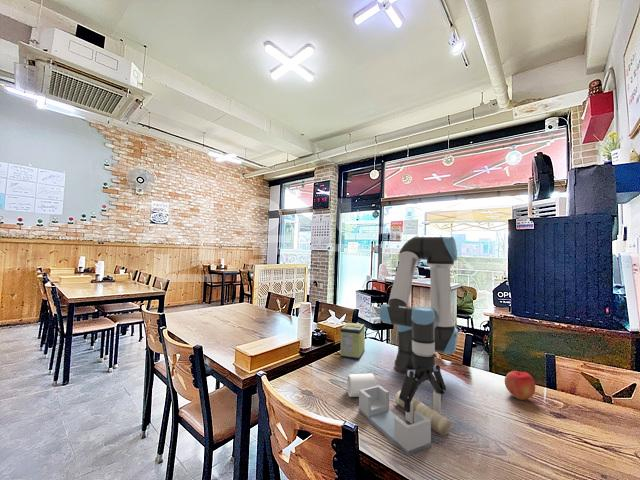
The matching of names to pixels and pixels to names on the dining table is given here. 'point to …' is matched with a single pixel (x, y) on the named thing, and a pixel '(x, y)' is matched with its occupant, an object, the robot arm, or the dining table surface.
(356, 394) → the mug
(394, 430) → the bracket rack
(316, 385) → the dining table surface
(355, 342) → the protein box
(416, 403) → the beige beaded rod
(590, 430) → the dining table surface
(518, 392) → the apple
